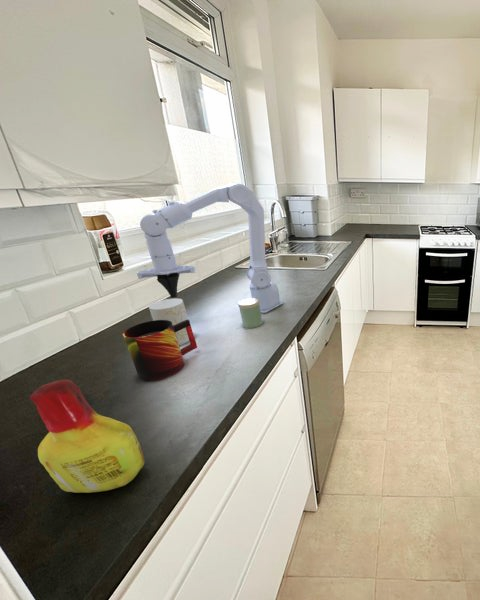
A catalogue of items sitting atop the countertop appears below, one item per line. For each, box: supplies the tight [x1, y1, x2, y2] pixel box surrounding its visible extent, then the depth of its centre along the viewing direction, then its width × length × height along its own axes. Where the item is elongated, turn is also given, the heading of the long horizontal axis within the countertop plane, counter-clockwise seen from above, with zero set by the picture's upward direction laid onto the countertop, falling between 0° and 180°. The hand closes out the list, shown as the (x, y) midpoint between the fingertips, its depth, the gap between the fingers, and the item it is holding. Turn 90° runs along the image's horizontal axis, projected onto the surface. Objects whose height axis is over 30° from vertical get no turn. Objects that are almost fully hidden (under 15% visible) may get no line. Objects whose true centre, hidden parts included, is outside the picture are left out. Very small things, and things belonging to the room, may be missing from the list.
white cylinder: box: [148, 297, 190, 346], centre depth 92 cm, size 8×8×12 cm
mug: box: [122, 319, 198, 382], centre depth 80 cm, size 10×14×12 cm
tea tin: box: [237, 297, 264, 329], centre depth 103 cm, size 6×6×8 cm
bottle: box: [29, 379, 145, 494], centre depth 47 cm, size 12×6×20 cm, turn 100°
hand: (174, 296), depth 100 cm, fingers closed
